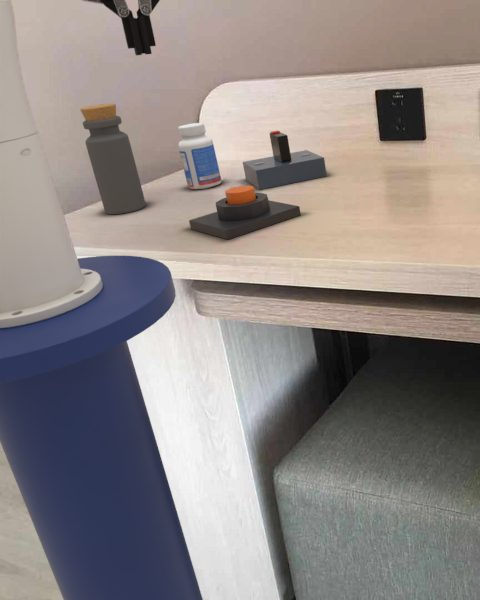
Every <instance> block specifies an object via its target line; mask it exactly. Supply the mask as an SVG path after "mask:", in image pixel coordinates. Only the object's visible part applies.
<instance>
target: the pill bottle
mask: <svg viewBox="0 0 480 600" xmlns="http://www.w3.org/2000/svg"><path fill="white" fill-rule="evenodd" d="M177 129H178V134H179V136H180V137H181V138H182V139H181V140H180V141H179V142H178V145H177V148H178V152H179V155H180V159H181V160H180V161H181V164H182V168H183V173H184V175H185V181H186V184H187V187H188V189H191V190H205V189H209V188H213V187H217V186H218V185H221V183H222V177H221V171H220V168H219V163H218V159H217V155H216V154H217V153H216V150H215V146H214V142H213V139H212V138H211V137H210V136H208V135H206V134H205V133H207V130H206V127H205V123H204V122H193V123H188V124H183V125H180V126H178V128H177Z"/></svg>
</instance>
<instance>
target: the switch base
mask: <svg viewBox="0 0 480 600" xmlns="http://www.w3.org/2000/svg"><path fill="white" fill-rule="evenodd" d="M255 196H256V200H254V201H250V202H247V203H241V204H228V203H227V198H226V197H223V198H220V199H219V200H217V201H216V202H215V209H216V211H215V212H211V213H207V214H205V215H201V216H198V217H196V218H192V219H189V220H188V221H189V222H188V223H189V227H190V230H193V231H197V232H199V233H200V232H201V233H202V234H203V233H204V234H207V235H211V236H214V237H216V238H217V237H218V238H221V239H225V240H231V239H235V238H237V237H240V236H243V235H245V234H249V233H252V232H254V231H257V230H260V229H264V228H266V227H269V226H273V225H276V224H279V223H281V222H284V221H288V220H290V219H293V218H296V217H299V216H301V207H300V206H299V205H295V204H290V203H284V202H279V201H273V200H269V196H268V195H267V193H264V192H255Z"/></svg>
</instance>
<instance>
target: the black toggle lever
mask: <svg viewBox="0 0 480 600" xmlns="http://www.w3.org/2000/svg"><path fill="white" fill-rule="evenodd" d="M269 132H270V133H269V140H270V144H271V151H272V156H274V158H275V159H277V160H278V161H280V162H287V161H291V154H290V153H291V150H290V142H289V136H288V134H285V133H283V132H281V131H280V130H279V129H278V130H277V129H276V130H272V131H269Z"/></svg>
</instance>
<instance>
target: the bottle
mask: <svg viewBox="0 0 480 600" xmlns="http://www.w3.org/2000/svg"><path fill="white" fill-rule="evenodd" d="M79 110H80V112H81V115H82V116H83V118H84V121H82V126H83V129H84V130H88V131H89V136H88V137H87V138H86V139H85V142H84V143H85V146H86V150H87V154H88V157H89V161H90V164H91V168H92V171H93V174H94V178H95V182H96V185H97V188H98V192H99V193H98V194H99V196H100V199H101V202H102V207H103V209H104V212H105V214H107V215H122V214H123V215H124V214H127V213H132V212H136V211H139V210H141V209H143V208H145V207H146V206H147V205H146V200H145V195H144V191H143V188H142V183H141V180H140V176H139V173H138V168H137V165H136V161H135V156H134V153H133V149H132V145H131V142H130V138H129V135H128V133H126V132H124V131H121V130H120V126H119V125H121V124H122V123H123V121H122V118H121V116H119V115H117V105H116V103H112V102H111V103H101V104H94V105H89V106H88V105H87V106H84V107H81V108H80V109H79Z"/></svg>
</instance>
